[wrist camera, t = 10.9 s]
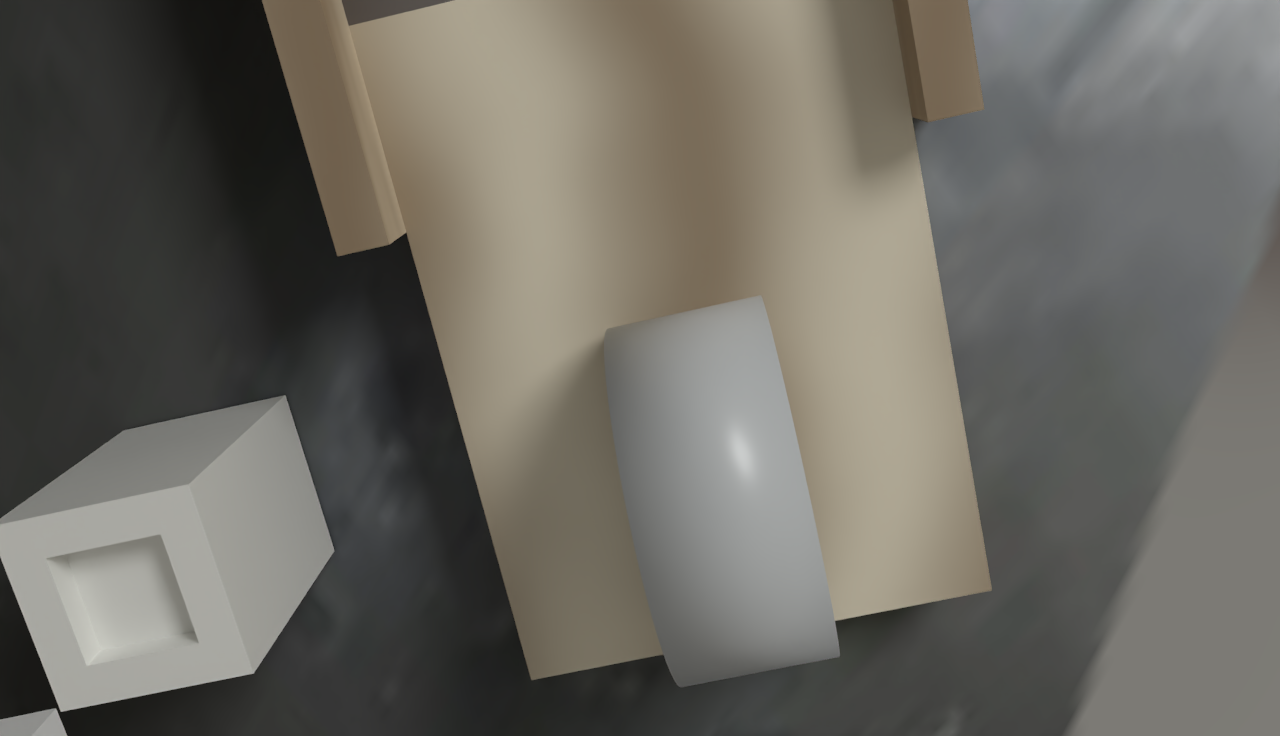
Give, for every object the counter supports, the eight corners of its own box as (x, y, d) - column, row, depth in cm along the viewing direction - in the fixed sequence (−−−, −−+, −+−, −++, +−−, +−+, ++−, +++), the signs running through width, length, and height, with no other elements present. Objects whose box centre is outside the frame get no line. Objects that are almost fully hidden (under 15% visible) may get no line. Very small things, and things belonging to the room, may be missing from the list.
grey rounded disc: (683, 587, 28) (687, 762, 21) (613, 295, 26) (593, 383, 19) (812, 562, 28) (858, 730, 21) (750, 265, 26) (778, 344, 19)
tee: (177, 583, 28) (60, 711, 23) (123, 430, 27) (-12, 526, 22) (334, 551, 28) (253, 673, 22) (285, 395, 27) (189, 483, 22)
